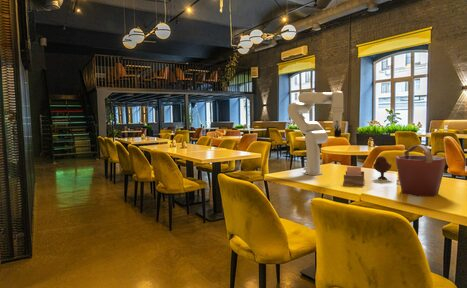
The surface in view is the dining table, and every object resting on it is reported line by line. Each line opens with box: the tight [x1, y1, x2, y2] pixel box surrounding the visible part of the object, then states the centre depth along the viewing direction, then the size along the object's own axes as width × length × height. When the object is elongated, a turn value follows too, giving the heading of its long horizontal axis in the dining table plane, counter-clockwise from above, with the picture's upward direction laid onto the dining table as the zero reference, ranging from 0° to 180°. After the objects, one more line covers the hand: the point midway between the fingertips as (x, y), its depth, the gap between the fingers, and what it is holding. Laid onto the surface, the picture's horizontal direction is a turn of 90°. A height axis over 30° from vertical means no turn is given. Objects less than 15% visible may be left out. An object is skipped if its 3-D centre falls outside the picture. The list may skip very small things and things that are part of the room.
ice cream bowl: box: [373, 155, 392, 180], centre depth 210 cm, size 11×11×15 cm
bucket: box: [395, 144, 447, 197], centre depth 168 cm, size 24×22×25 cm
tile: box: [346, 165, 362, 175], centre depth 200 cm, size 3×8×9 cm, turn 68°
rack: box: [342, 170, 366, 187], centre depth 200 cm, size 17×12×6 cm
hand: (337, 136), depth 215 cm, fingers open, 9 cm apart
